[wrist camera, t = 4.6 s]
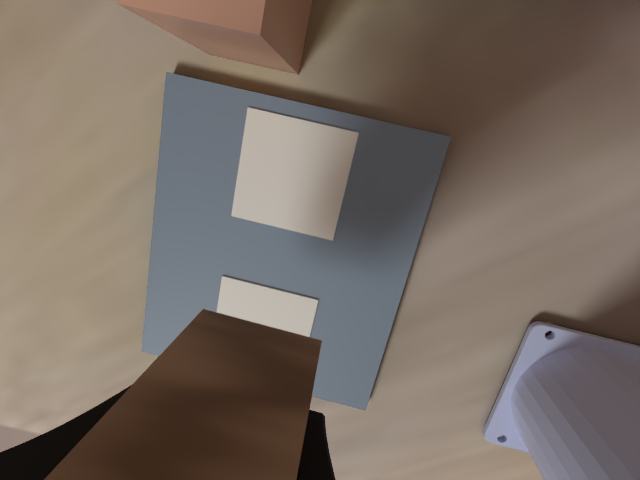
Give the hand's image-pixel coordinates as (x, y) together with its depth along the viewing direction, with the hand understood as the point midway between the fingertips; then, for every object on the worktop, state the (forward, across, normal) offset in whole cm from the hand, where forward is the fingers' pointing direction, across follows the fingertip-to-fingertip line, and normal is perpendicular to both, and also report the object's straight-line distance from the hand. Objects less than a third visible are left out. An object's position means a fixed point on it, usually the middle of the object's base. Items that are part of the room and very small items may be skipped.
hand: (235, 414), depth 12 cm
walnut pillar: (+2, 0, 0) cm, 2 cm away
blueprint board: (+9, +1, -3) cm, 9 cm away
